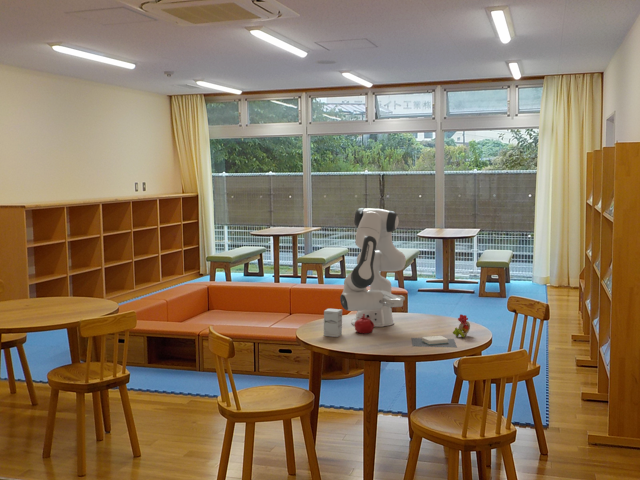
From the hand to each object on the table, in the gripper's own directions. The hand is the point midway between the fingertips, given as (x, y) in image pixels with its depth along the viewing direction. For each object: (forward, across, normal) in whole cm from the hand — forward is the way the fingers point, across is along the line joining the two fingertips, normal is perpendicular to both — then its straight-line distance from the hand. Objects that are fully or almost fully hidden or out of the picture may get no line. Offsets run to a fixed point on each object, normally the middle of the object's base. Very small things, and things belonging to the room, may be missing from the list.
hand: (403, 297), depth 304 cm
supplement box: (-25, +27, +23) cm, 43 cm away
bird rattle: (+35, +6, +23) cm, 42 cm away
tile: (+10, -4, +20) cm, 23 cm away
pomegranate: (-8, +28, +23) cm, 37 cm away
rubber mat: (+14, -4, +22) cm, 26 cm away
